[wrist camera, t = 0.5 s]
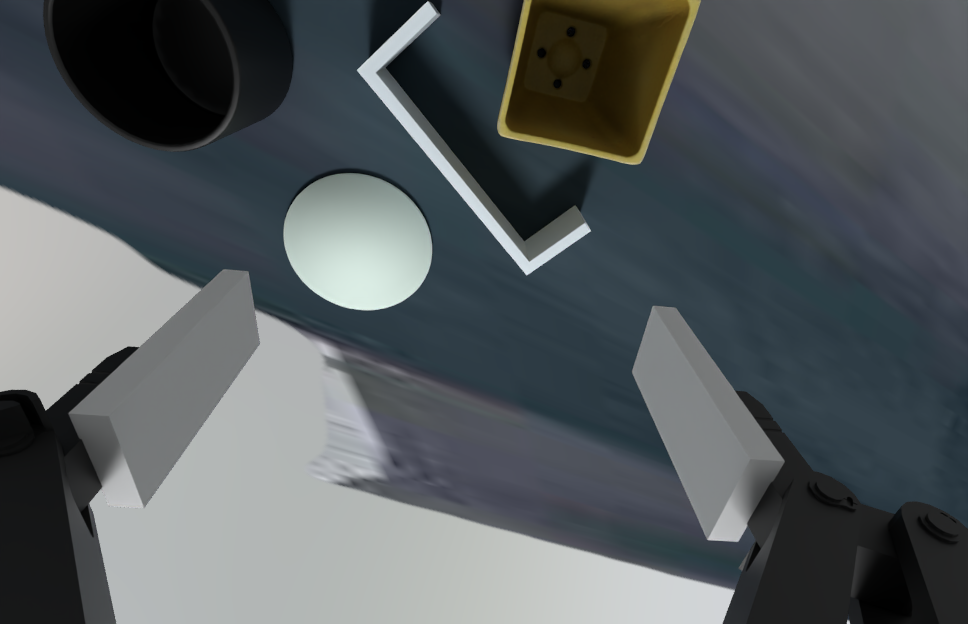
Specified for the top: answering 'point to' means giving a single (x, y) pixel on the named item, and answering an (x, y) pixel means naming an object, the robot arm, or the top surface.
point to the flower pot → (594, 73)
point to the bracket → (433, 145)
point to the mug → (171, 65)
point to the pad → (358, 241)
